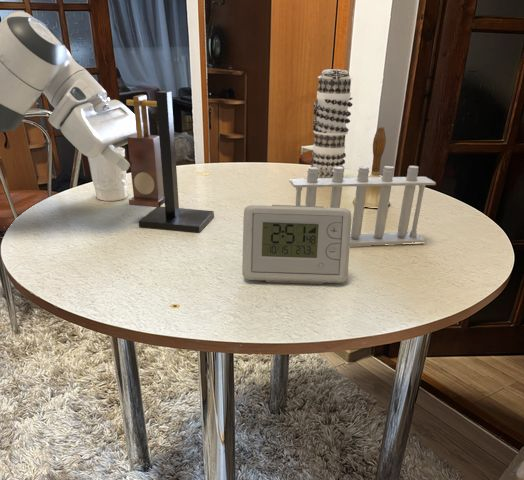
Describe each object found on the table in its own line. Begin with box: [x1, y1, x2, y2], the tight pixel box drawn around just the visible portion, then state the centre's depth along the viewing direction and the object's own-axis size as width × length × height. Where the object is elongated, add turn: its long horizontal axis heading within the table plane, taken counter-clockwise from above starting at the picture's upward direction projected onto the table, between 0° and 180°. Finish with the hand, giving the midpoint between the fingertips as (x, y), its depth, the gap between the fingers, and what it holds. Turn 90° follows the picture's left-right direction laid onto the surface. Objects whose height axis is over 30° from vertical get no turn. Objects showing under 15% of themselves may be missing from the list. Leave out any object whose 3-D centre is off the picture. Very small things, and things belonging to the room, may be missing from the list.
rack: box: [125, 90, 215, 234], centre depth 95 cm, size 14×10×23 cm
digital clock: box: [241, 204, 352, 285], centre depth 77 cm, size 16×9×11 cm, turn 77°
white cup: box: [87, 146, 128, 202], centre depth 112 cm, size 8×8×10 cm
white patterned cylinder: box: [310, 68, 354, 178], centre depth 123 cm, size 9×9×25 cm
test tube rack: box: [288, 165, 437, 248], centre depth 90 cm, size 25×4×13 cm, turn 99°
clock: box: [127, 94, 165, 208], centre depth 94 cm, size 6×5×19 cm
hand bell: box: [352, 126, 391, 207], centre depth 110 cm, size 8×8×16 cm
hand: (139, 162), depth 96 cm, fingers open, 8 cm apart
